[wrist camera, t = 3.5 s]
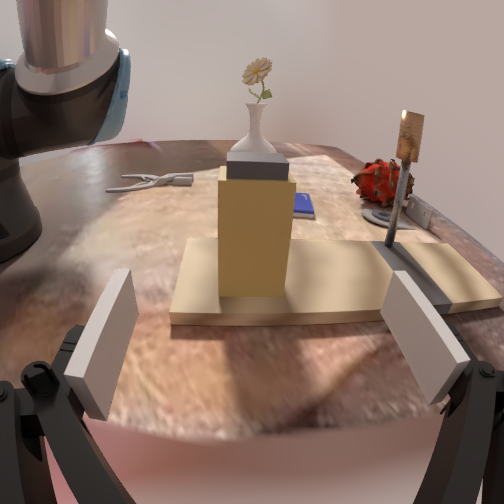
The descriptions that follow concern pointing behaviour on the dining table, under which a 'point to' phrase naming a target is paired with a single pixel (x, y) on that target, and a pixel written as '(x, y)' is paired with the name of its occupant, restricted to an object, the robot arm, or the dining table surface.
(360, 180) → the dragon fruit
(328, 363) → the dining table surface
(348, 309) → the plank
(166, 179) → the pliers
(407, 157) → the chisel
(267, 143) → the flower in vase
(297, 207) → the hard drive
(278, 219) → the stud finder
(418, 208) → the bracket
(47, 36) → the robot arm
